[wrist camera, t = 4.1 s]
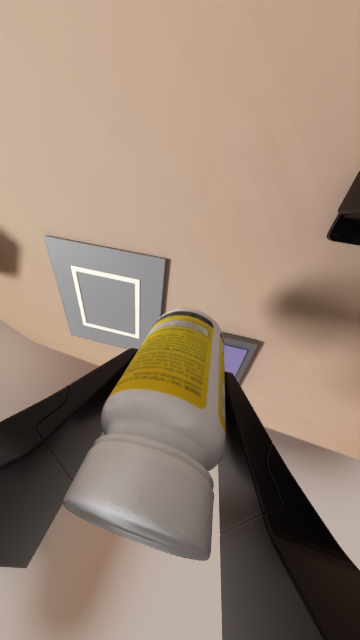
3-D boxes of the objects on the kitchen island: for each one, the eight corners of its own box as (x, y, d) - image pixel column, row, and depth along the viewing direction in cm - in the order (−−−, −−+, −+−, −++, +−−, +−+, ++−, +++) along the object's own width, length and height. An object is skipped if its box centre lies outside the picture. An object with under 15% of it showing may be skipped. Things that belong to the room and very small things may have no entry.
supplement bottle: (141, 326, 12) (18, 489, 5) (195, 291, 9) (117, 499, 2) (182, 371, 13) (136, 548, 6) (238, 349, 11) (267, 588, 4)
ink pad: (256, 340, 22) (258, 346, 20) (231, 390, 27) (231, 398, 26) (174, 321, 23) (172, 326, 22) (167, 374, 29) (165, 380, 27)
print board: (166, 258, 19) (164, 259, 18) (157, 354, 27) (156, 357, 26) (47, 235, 20) (42, 235, 20) (73, 333, 28) (70, 335, 28)
